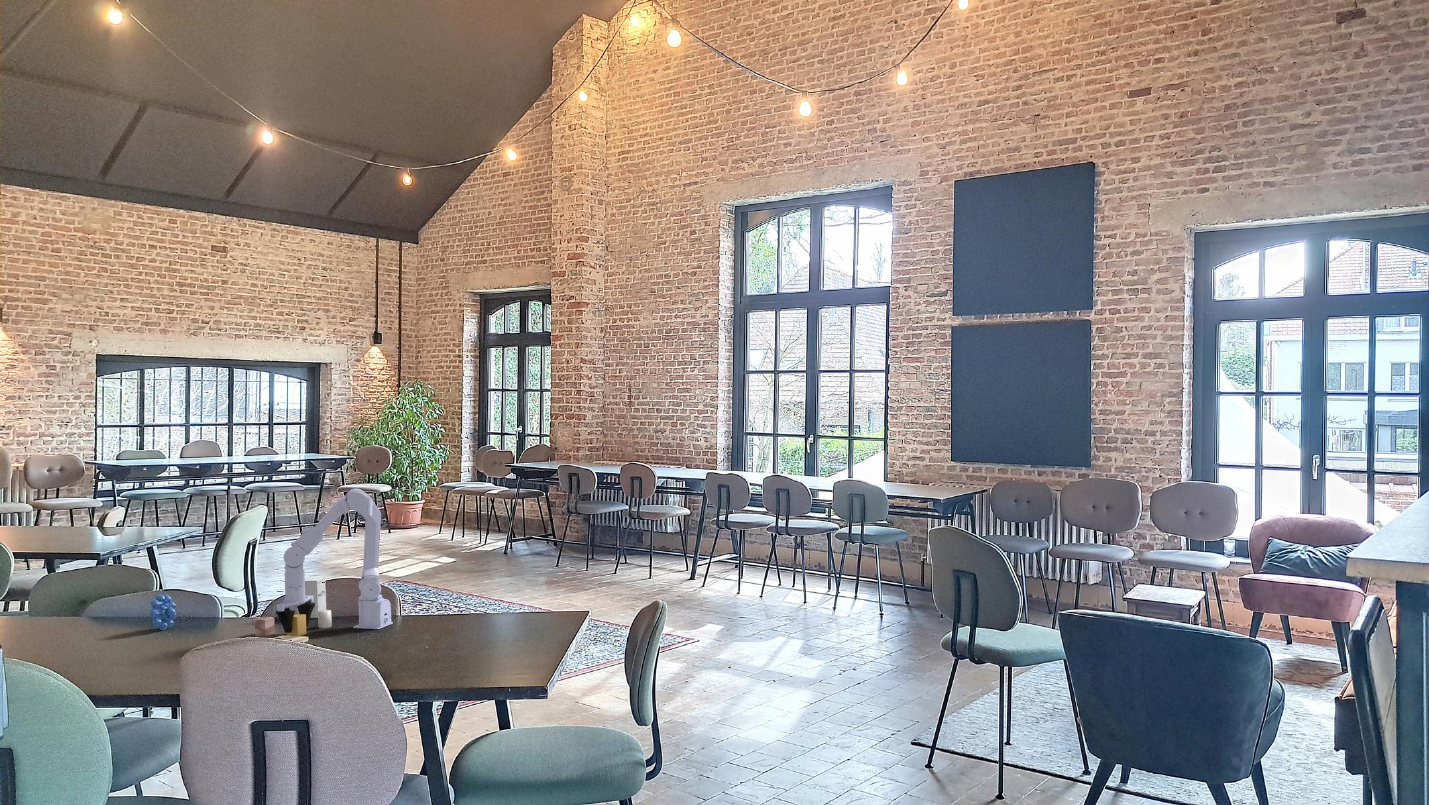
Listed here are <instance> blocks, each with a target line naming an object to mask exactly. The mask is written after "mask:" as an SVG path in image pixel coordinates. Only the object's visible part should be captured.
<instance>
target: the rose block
mask: <svg viewBox="0 0 1429 805" xmlns="http://www.w3.org/2000/svg"><path fill="white" fill-rule="evenodd" d="M253 620H254V635H255V636H257V637H266V636H270V635H273V634H275V633H276V632H275V617H273V616H261V617H258V618H255V619H253Z"/></svg>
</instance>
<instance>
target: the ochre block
mask: <svg viewBox="0 0 1429 805" xmlns="http://www.w3.org/2000/svg"><path fill="white" fill-rule="evenodd" d="M306 634H307V627H306V614H297V613H294V616H293V622H292V632H291V633H286V636H304V635H306Z"/></svg>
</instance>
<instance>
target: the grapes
mask: <svg viewBox="0 0 1429 805" xmlns="http://www.w3.org/2000/svg"><path fill="white" fill-rule="evenodd" d="M176 606H177V605H176V602H174V600H172V597H171V595H169V594H163V593H159V594H157V595H156V596H155V599H153V600H152V601H151V602H150V607H151V608H152V609H151V610H150V611H149V613H148V614H149V617H150V618H151V619H152V625H153V627H156V628H158V629H159V630H161V631H166V630H167V629H168V628H172V627H173V625H174V624H175V622H174V620H175V619H176V617H177V615H178V614H177V611H176Z"/></svg>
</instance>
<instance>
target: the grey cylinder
mask: <svg viewBox="0 0 1429 805" xmlns="http://www.w3.org/2000/svg"><path fill="white" fill-rule="evenodd" d="M332 620H333V619H332V610H331V609H326V610H321V611H318V618H317V621H318V622H317V624H318V625H317V626H318V627H317V628H319V629H328V628H332V626H333V622H332Z"/></svg>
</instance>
